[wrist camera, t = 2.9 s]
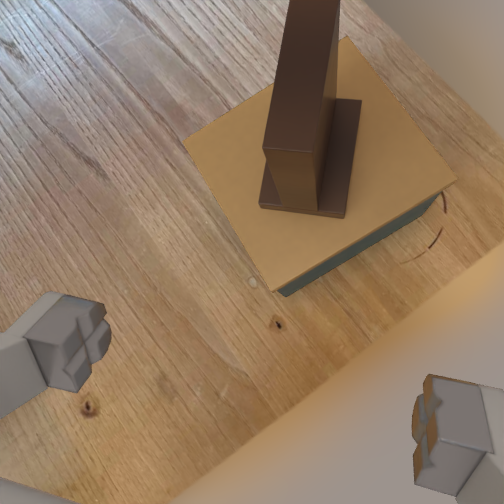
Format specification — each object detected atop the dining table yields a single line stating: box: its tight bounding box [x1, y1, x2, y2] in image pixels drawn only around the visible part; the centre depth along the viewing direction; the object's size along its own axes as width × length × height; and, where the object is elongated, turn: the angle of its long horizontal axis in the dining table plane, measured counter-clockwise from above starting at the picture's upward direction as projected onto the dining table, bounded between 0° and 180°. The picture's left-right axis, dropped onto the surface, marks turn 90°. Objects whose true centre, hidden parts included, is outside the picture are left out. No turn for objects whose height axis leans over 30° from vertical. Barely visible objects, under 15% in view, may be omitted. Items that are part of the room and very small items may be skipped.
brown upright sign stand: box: [258, 0, 362, 219], centre depth 21 cm, size 7×5×9 cm
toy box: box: [182, 36, 458, 297], centre depth 29 cm, size 11×12×8 cm
